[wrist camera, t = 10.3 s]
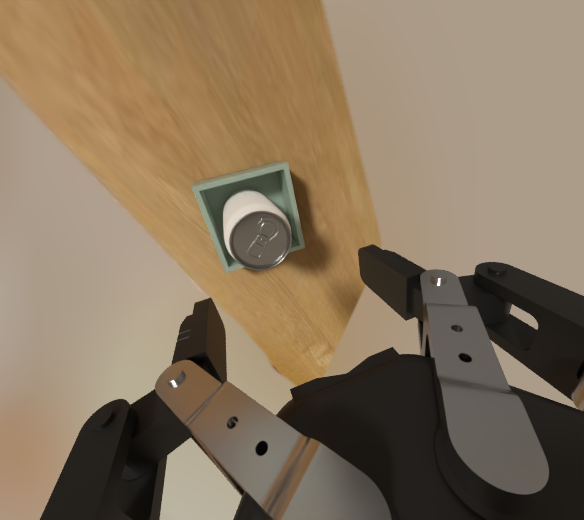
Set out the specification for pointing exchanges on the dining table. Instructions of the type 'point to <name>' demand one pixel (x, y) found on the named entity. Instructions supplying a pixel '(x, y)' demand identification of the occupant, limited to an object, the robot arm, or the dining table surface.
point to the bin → (262, 179)
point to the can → (255, 230)
